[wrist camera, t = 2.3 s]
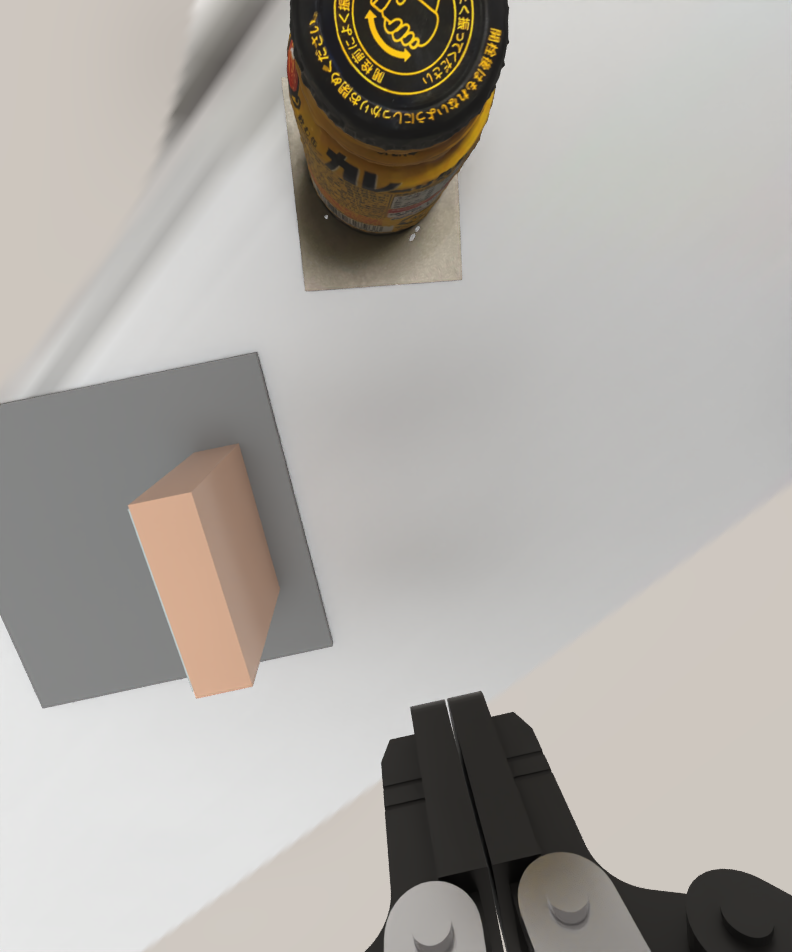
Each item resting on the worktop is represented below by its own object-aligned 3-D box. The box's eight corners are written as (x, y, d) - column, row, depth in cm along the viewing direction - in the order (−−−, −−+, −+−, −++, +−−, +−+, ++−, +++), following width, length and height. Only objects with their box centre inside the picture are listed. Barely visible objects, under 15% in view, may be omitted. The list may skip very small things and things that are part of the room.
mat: (257, 352, 26) (255, 352, 25) (332, 642, 30) (332, 646, 30) (-81, 420, 25) (-87, 422, 25) (46, 703, 30) (42, 708, 29)
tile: (238, 443, 26) (191, 492, 19) (279, 588, 28) (252, 686, 21) (191, 453, 26) (123, 506, 19) (235, 598, 28) (192, 699, 21)
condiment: (452, 70, 23) (551, -182, 12) (461, 280, 26) (549, 243, 14) (281, 79, 23) (208, -172, 11) (305, 291, 25) (265, 263, 14)
